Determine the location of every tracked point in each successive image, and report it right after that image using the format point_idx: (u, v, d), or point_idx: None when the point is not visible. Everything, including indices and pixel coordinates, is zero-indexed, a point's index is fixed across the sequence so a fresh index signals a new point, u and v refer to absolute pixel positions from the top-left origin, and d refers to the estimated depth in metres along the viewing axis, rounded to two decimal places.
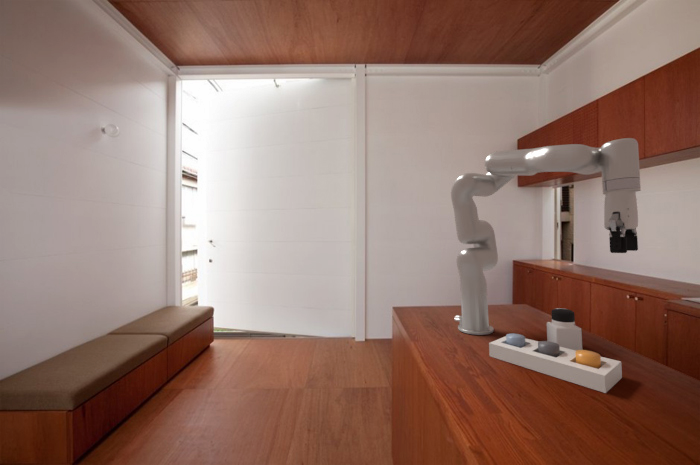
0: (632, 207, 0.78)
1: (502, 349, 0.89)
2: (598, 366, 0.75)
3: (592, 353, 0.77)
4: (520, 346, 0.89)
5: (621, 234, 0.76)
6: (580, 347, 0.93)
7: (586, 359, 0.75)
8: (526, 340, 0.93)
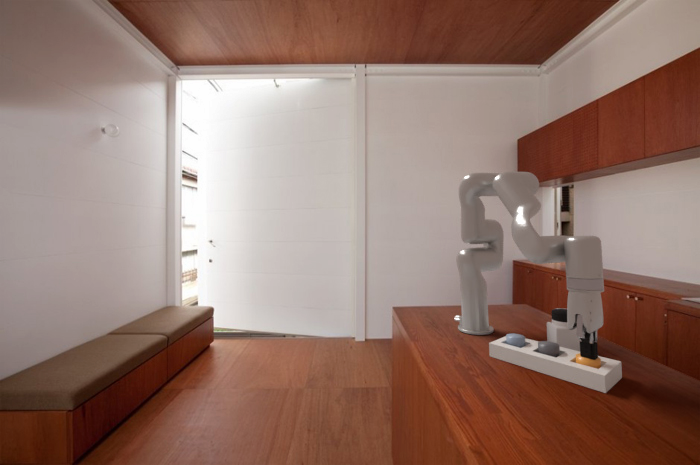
0: (595, 309, 0.74)
1: (502, 349, 0.89)
2: None
3: None
4: (520, 346, 0.89)
5: (590, 343, 0.75)
6: None
7: (586, 362, 0.75)
8: (526, 340, 0.93)
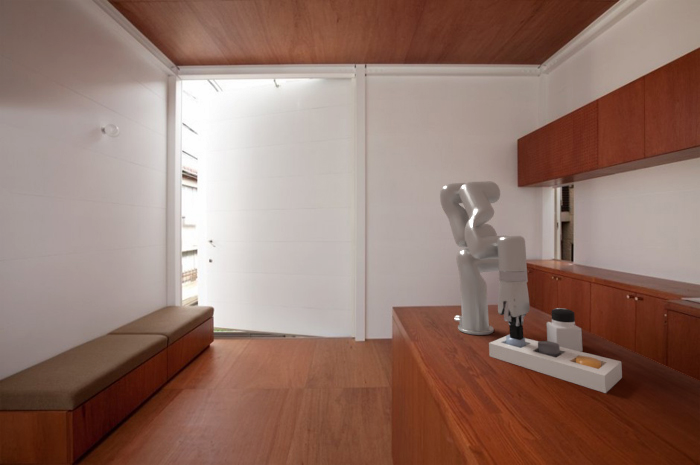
0: (519, 297, 0.89)
1: (502, 349, 0.89)
2: None
3: (592, 359, 0.77)
4: None
5: (516, 325, 0.90)
6: (580, 347, 0.93)
7: None
8: (526, 340, 0.93)
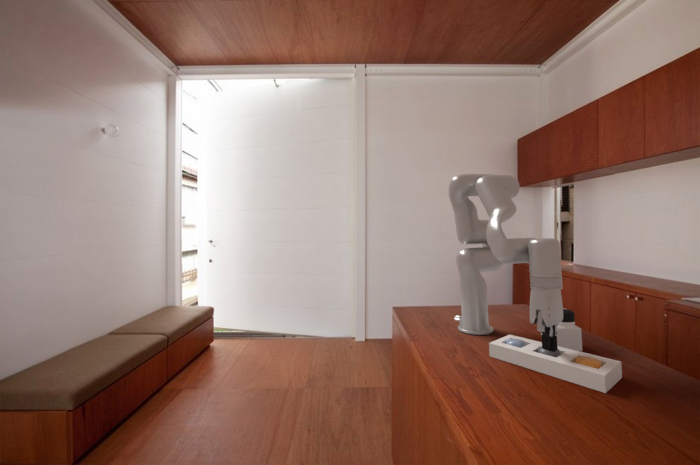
0: (554, 305, 0.81)
1: (502, 349, 0.89)
2: None
3: (592, 359, 0.77)
4: None
5: (550, 336, 0.82)
6: (580, 347, 0.93)
7: None
8: (526, 340, 0.93)
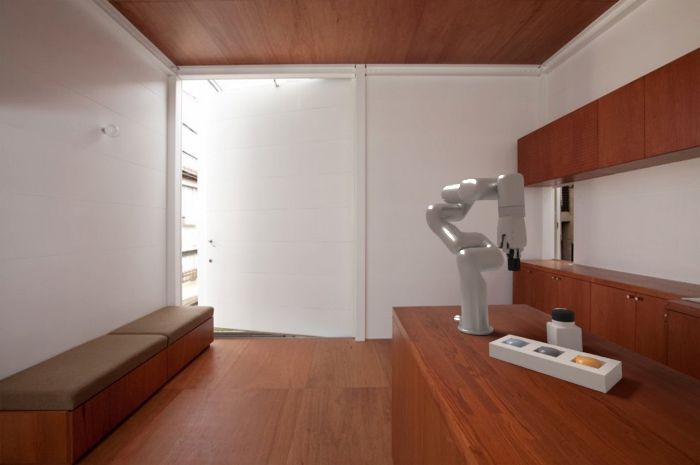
0: (517, 230, 0.94)
1: (502, 349, 0.89)
2: None
3: (592, 359, 0.77)
4: None
5: (514, 257, 0.95)
6: (580, 347, 0.93)
7: None
8: (526, 340, 0.93)
